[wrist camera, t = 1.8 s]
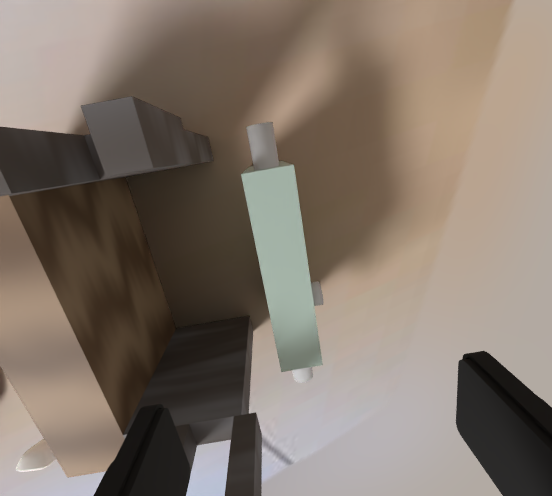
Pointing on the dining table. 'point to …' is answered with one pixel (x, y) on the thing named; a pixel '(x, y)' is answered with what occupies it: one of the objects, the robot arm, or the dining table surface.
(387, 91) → the dining table surface
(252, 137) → the door
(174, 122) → the cabinet
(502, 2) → the dining table surface
